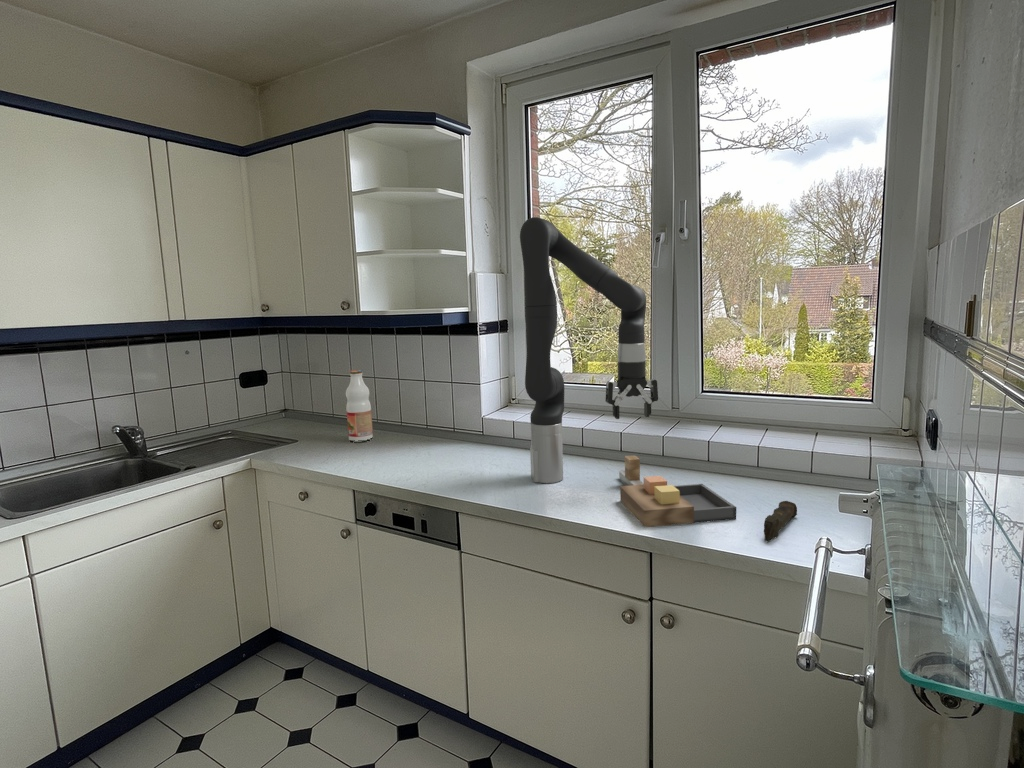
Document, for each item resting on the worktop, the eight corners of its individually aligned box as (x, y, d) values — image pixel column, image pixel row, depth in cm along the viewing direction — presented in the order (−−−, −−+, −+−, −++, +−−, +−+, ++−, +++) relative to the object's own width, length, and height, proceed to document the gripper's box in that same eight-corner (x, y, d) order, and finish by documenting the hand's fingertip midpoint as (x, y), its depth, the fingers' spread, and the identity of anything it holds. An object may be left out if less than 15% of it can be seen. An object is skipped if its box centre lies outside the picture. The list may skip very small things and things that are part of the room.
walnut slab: (644, 527, 134) (644, 510, 134) (620, 501, 152) (620, 486, 151) (693, 522, 136) (693, 506, 135) (664, 497, 153) (664, 482, 153)
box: (693, 522, 136) (693, 510, 135) (664, 497, 153) (664, 486, 153) (736, 519, 137) (736, 507, 136) (702, 494, 155) (702, 483, 154)
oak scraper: (635, 495, 156) (635, 465, 155) (619, 479, 171) (619, 451, 170) (646, 495, 156) (646, 464, 155) (629, 478, 171) (629, 450, 170)
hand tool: (779, 514, 140) (779, 496, 139) (797, 518, 137) (797, 499, 136) (752, 541, 126) (752, 520, 125) (771, 545, 123) (772, 524, 122)
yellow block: (661, 504, 137) (661, 492, 137) (654, 498, 142) (654, 486, 141) (679, 502, 138) (679, 490, 137) (672, 496, 142) (672, 485, 142)
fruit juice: (368, 442, 226) (363, 371, 222) (345, 443, 227) (339, 372, 223) (376, 437, 235) (371, 368, 231) (353, 437, 236) (348, 369, 232)
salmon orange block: (649, 494, 145) (649, 482, 144) (643, 488, 149) (643, 477, 149) (667, 492, 145) (667, 481, 145) (660, 487, 150) (660, 475, 149)
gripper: (651, 357, 163) (651, 413, 165) (602, 359, 161) (603, 416, 164) (661, 359, 156) (661, 418, 158) (610, 362, 154) (610, 421, 156)
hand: (631, 417), depth 161 cm, fingers open, 8 cm apart
